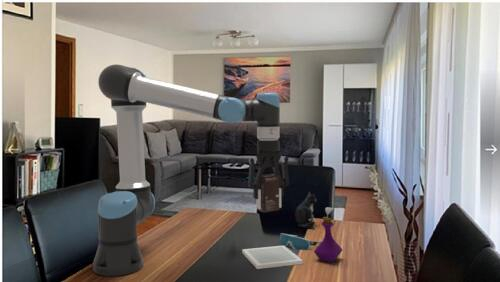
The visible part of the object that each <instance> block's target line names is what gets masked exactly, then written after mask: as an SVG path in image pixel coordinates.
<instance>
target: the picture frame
mask: <svg viewBox="0 0 500 282" xmlns="http://www.w3.org/2000/svg"><path fill="white" fill-rule="evenodd" d="M241 252H242V254H243V256H244V257H245V258H246V259H247V260H248V261H249V262H250V263H251V264H252V266H254V267H255V269H256V270H260V269H270V268H279V267H286V266H288V267H289V266H294V265H295V266H296V265H303V263H304V262H303V261H304V260H303V259H301V258H300V257H299V256H298V255H297V254H296V253H294V252H293V251H292V250H290V248H288V247H287V246H286V247H285V246H283V245H276V246H265V247H255V248H253V247H252V248H244V249H243V248H242V250H241Z"/></svg>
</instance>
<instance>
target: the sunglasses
mask: <svg viewBox="0 0 500 282" xmlns="http://www.w3.org/2000/svg"><path fill="white" fill-rule="evenodd" d="M279 239H280V240H279V241H280V242H279V243H280V244H281V246H285V247H286V248H287V247H289V246H290V245H291V248H292V249H294V250H304V251H305V250H307V251H308V250H310V248H311V247H313V246H315V247H316V246H317V245H318V244H319V245H320V244H321V242H322V241H321V240H320V241H312V240H310V239H307V238H303V237H300V235H297V234H296V235H295V234H288V233H280V236H279Z"/></svg>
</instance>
